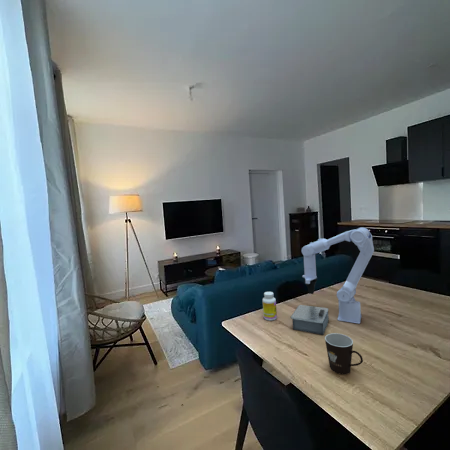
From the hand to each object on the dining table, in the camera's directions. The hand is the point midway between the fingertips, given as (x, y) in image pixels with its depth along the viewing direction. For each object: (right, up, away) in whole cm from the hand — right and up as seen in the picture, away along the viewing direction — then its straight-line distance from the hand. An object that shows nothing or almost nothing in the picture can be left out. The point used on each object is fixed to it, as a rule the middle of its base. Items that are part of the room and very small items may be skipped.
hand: (311, 293), depth 129 cm
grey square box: (-5, -11, -14) cm, 18 cm away
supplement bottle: (-22, -12, -4) cm, 25 cm away
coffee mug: (-6, -13, -46) cm, 49 cm away
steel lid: (-6, -6, -14) cm, 16 cm away
